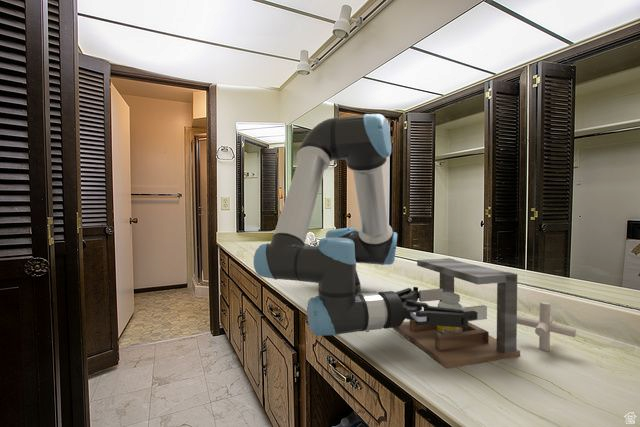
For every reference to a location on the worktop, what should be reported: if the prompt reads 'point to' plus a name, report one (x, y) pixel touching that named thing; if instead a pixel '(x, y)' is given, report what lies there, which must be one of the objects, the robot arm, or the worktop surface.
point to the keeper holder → (472, 340)
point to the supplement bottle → (450, 302)
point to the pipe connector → (545, 326)
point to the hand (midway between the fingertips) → (461, 302)
